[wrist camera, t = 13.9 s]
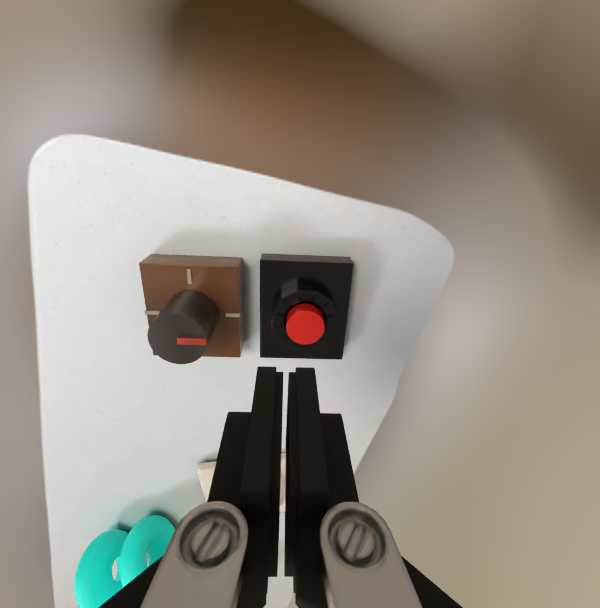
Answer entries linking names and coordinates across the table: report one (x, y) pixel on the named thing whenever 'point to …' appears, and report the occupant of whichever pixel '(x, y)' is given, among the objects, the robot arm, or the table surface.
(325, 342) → the switch block
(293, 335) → the power button
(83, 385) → the table surface
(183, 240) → the table surface
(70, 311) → the table surface
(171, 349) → the dimmer knob
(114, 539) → the donuts
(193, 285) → the dimmer panel
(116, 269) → the table surface
